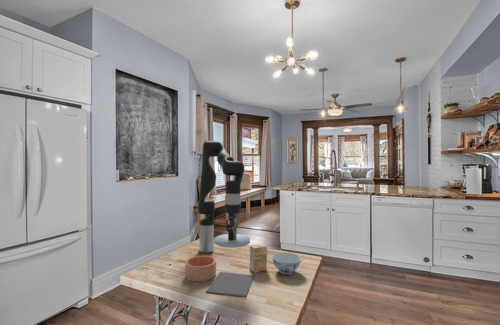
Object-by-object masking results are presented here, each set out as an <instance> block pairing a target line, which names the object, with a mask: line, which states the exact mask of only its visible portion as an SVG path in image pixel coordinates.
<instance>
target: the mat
mask: <svg viewBox="0 0 500 325" xmlns="http://www.w3.org/2000/svg"><path fill="white" fill-rule="evenodd" d="M254 278H255V274H248V273H247V274H245V273H236V272H227V271H226V272H225V271H219V273H218V274H217V276H215V279H214V280H213V281H212V282H211V284H210V285H209V287H208V288H207V289H206V293H207V294H215V295H216V294H217V295H223V296H232V297H239V298H247V295H248V293H249V291H250V288H251V285H252V283H253V280H254Z"/></svg>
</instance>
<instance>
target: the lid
mask: <svg viewBox="0 0 500 325" xmlns="http://www.w3.org/2000/svg"><path fill="white" fill-rule="evenodd" d="M237 230H238V229H234V239H233V240H229V232H227V233H225V234H220V235H217V236H216V237H214V245H216V246H218V247H222V248H230V249H231V248H240V247H245V246H248V245H250V242H251V238H250V237H249V236H248V235H245V234H240V233H237Z"/></svg>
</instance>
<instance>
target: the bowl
mask: <svg viewBox="0 0 500 325" xmlns="http://www.w3.org/2000/svg"><path fill="white" fill-rule="evenodd" d="M216 274H217V260H216V257H214V256H211V255H195V256H192V257H189V258H188V259H186V260H185V278H186V279H187V280H188V281H191V282H198V283H200V282H207V281H209V280H212V279H214V277H216Z"/></svg>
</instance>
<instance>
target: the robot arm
mask: <svg viewBox="0 0 500 325" xmlns="http://www.w3.org/2000/svg"><path fill="white" fill-rule="evenodd" d="M210 157H211V158H216V161H217V163H218V164H219V165H220V166H221V170H222V174H223V175H225V176H228V177H230V176H233V177H234V178H233V179H231V180H227V181H226V183H225V196H224V197H225V198H224V212H225V214H228V216H227V220H226V221H225V223H226V233H228V232H229V240H233V239H234V229H237V228H238V226H239V225H238V223H239V214H241V206H242V205H241V204H242V196H241V184H242V180H243V176H244V173H245V164H244V163H243V161H239V160H234V158H233V157H232V156H231V155H230V154H229V153H228V152H227V150H226V149H225V147H224V145H223V143H222V142H221V141H219V140H207V141H206V140H205V141H204V142H203V145H202V167H201V174H200V186H199V197H198V203H197V212H198V214H199V215H207V216H206V217H203V218H202V219H200V220H199V245H198V246H199V250H198V251H199V252H200V253H203V254H204V253H205V254H207V253H212V252H213V251H215V250H214V246H215V243H214V239H215V237H214V236H215V210H216V209H215V208H216V203H215V201H214V199H206V198H207V196H208V195H209V194H210V192H211V191H212V190H214V188H215V186H216V180H217V175H216V172H215V170H214V168H213V167H212V166H211V163H210ZM237 230H238V229H237Z"/></svg>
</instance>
